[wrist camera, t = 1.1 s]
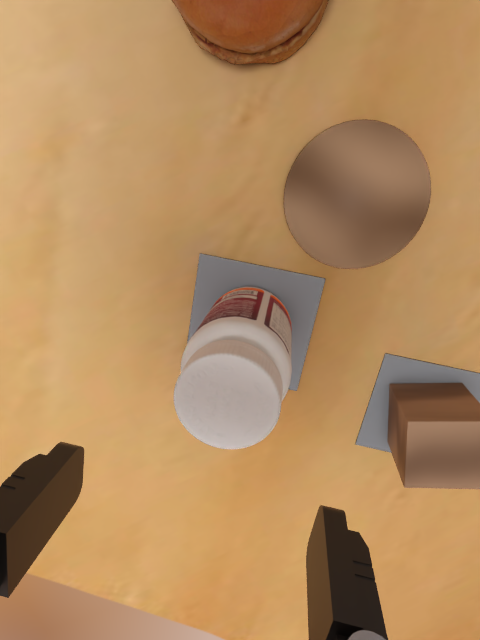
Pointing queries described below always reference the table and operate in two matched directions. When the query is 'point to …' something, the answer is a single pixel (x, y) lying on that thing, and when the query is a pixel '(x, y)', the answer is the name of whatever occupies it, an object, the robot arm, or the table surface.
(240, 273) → the code tile
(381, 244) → the coaster
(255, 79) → the table surface
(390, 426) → the walnut block
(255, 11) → the burger
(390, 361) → the code tile
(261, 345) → the pill bottle
